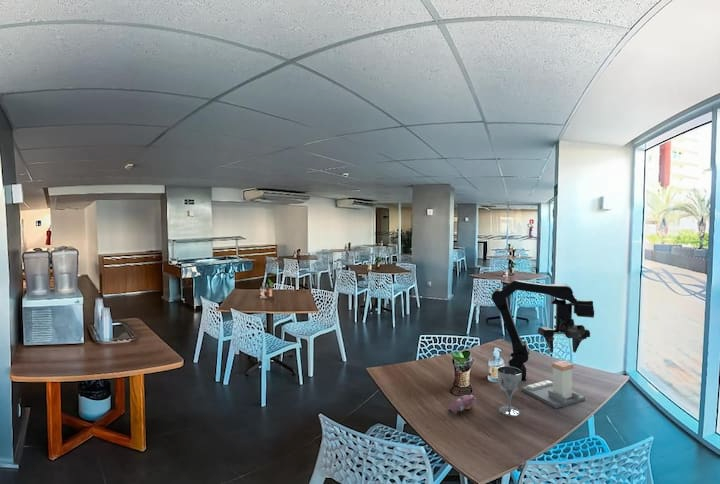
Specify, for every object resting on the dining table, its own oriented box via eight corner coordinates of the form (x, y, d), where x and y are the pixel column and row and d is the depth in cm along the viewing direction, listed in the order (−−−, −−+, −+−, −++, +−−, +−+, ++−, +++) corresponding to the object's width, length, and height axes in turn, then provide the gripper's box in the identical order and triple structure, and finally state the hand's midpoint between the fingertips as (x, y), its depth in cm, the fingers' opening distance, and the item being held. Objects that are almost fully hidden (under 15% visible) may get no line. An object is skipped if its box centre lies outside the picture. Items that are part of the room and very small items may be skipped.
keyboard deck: (521, 390, 145) (521, 382, 145) (548, 383, 151) (548, 375, 150) (557, 409, 130) (557, 400, 130) (586, 400, 135) (586, 392, 135)
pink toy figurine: (454, 418, 128) (460, 405, 125) (446, 408, 132) (452, 394, 129) (474, 411, 133) (481, 398, 130) (466, 401, 136) (472, 388, 133)
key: (551, 395, 137) (551, 362, 137) (562, 392, 139) (562, 360, 139) (562, 400, 133) (562, 367, 132) (573, 397, 135) (573, 364, 134)
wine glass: (520, 407, 132) (520, 367, 131) (522, 418, 124) (522, 375, 123) (497, 404, 134) (497, 364, 133) (498, 415, 127) (497, 373, 126)
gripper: (550, 320, 140) (549, 359, 141) (599, 320, 140) (598, 359, 140) (537, 313, 151) (536, 349, 152) (582, 313, 151) (581, 349, 152)
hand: (563, 352), depth 149 cm, fingers open, 9 cm apart
